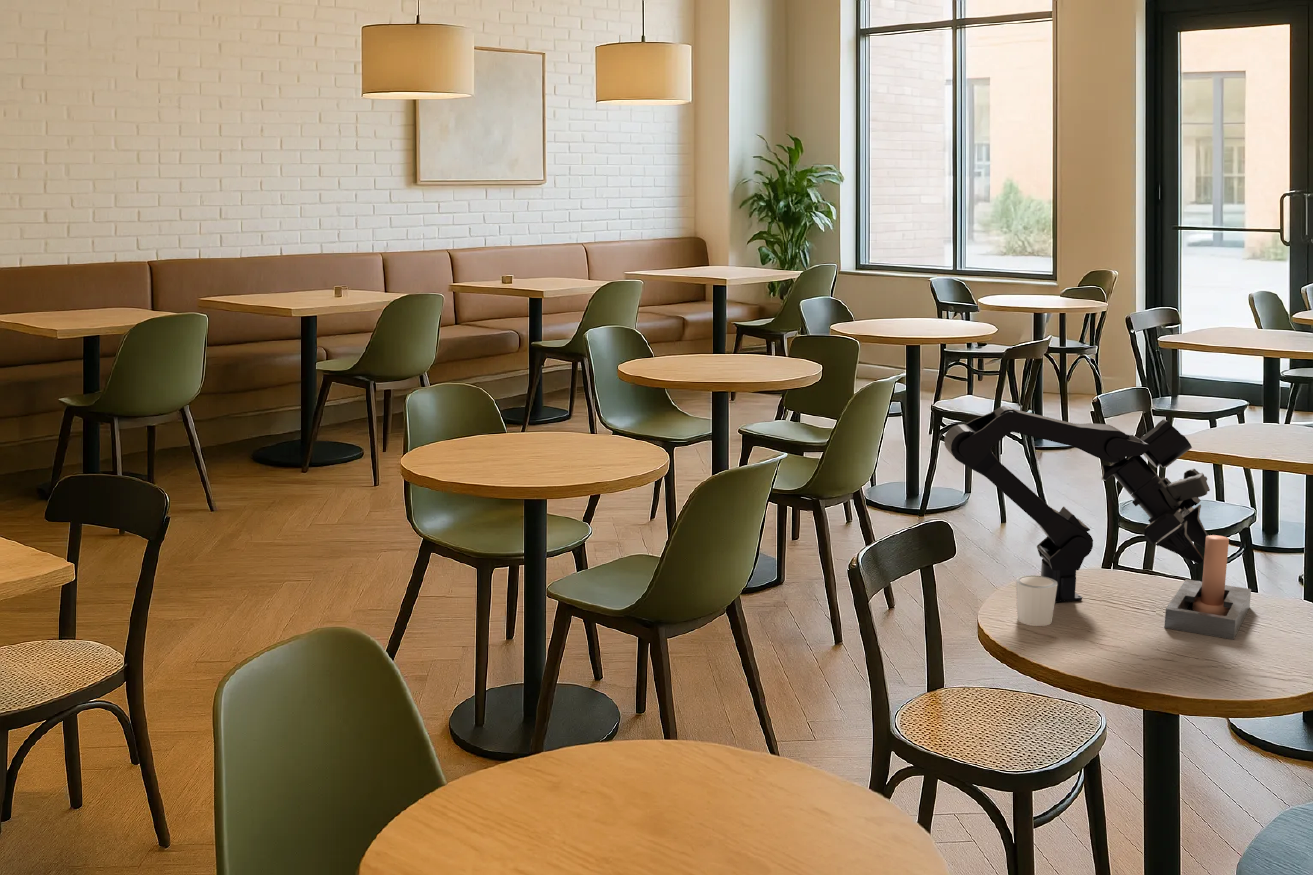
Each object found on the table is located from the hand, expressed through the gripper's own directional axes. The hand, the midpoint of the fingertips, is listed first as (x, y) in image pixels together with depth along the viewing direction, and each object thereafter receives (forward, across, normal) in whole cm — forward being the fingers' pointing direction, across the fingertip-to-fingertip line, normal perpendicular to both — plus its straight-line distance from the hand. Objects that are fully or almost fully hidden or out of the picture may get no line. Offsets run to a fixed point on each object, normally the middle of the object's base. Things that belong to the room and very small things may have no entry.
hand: (1206, 555), depth 211 cm
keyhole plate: (+8, -4, +6) cm, 11 cm away
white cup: (-9, -20, +23) cm, 32 cm away
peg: (+8, 0, +6) cm, 10 cm away
